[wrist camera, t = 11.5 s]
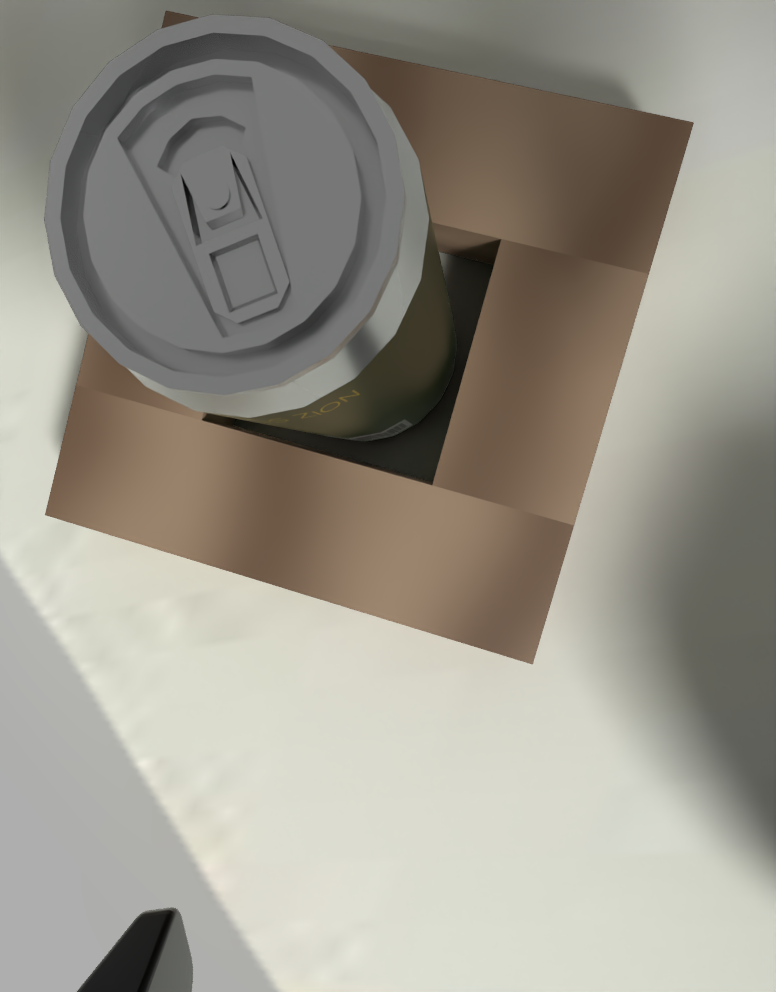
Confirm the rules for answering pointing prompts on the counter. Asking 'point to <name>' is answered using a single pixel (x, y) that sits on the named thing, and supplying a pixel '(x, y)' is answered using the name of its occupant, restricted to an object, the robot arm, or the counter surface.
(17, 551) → the counter surface
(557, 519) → the hole board
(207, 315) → the beer can
